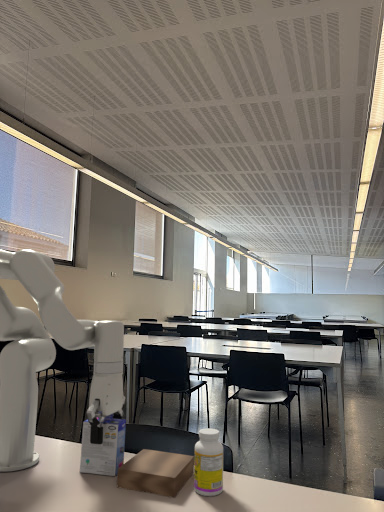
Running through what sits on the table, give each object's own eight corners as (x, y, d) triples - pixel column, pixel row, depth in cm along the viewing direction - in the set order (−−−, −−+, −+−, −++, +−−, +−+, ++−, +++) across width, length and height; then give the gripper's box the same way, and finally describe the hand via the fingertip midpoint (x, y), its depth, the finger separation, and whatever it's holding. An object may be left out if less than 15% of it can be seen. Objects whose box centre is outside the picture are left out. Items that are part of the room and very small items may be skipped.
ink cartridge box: (124, 468, 99) (127, 409, 101) (116, 477, 94) (119, 414, 96) (89, 464, 101) (92, 406, 103) (78, 473, 96) (82, 411, 98)
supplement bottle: (196, 482, 92) (197, 425, 94) (224, 485, 90) (225, 428, 92) (191, 495, 85) (192, 434, 87) (220, 499, 84) (221, 436, 86)
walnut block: (116, 487, 88) (117, 468, 89) (143, 465, 101) (143, 448, 102) (174, 497, 84) (174, 477, 85) (193, 473, 97) (194, 456, 98)
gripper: (112, 363, 110) (110, 427, 108) (76, 372, 94) (73, 447, 91) (136, 364, 108) (135, 429, 105) (104, 373, 92) (101, 450, 89)
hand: (106, 437), depth 98 cm, fingers open, 9 cm apart
